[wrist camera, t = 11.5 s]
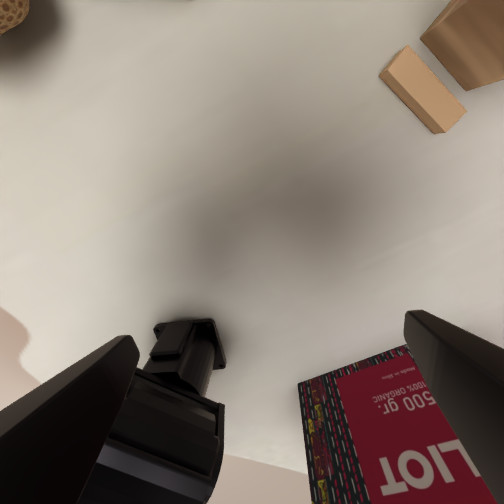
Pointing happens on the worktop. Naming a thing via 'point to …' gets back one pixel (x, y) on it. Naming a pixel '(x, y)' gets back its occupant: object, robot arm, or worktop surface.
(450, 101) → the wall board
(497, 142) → the worktop surface
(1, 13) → the natural sponge
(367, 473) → the box
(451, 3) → the cabinet block
